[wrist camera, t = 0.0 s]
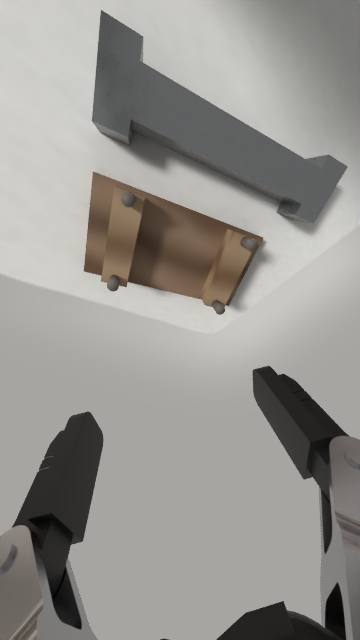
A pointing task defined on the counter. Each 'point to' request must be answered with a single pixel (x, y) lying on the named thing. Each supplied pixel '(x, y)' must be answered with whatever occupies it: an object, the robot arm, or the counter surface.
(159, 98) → the grey flared end bar
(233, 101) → the counter surface
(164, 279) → the rack
